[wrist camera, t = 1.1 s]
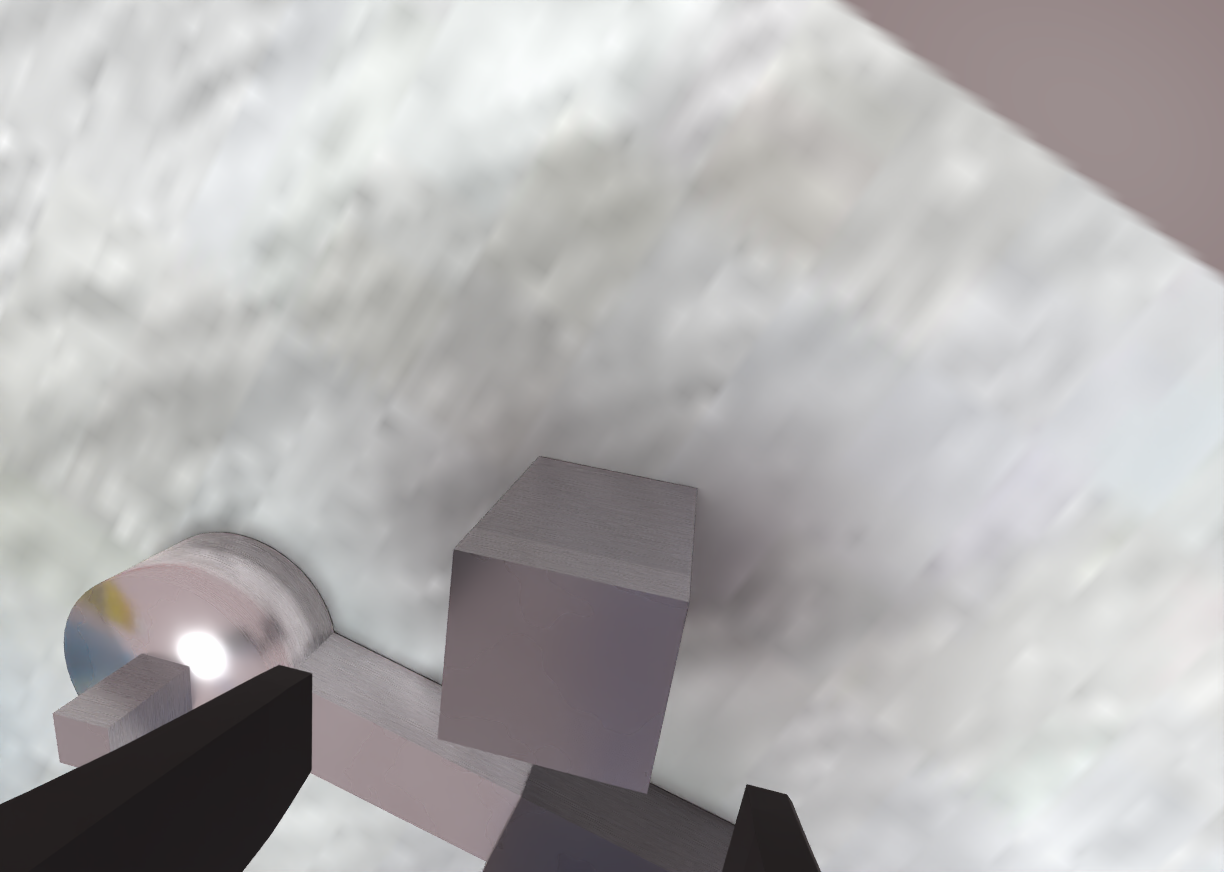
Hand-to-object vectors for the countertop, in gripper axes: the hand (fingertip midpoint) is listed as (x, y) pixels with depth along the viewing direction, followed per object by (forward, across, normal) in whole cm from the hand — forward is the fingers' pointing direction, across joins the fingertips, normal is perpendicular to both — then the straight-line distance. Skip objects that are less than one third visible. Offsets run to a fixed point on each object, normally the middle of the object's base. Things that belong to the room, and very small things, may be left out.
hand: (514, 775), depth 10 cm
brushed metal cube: (+8, 0, 0) cm, 9 cm away
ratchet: (+8, +4, +8) cm, 12 cm away
